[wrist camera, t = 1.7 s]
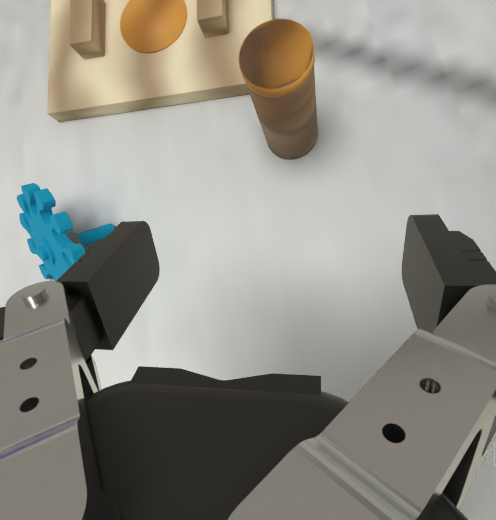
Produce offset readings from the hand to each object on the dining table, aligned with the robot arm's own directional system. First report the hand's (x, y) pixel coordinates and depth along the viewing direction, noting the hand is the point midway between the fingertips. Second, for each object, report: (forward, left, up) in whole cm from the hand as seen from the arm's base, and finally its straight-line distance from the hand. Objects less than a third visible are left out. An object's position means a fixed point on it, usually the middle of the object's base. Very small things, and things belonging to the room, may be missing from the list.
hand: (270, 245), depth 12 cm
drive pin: (0, -12, -17) cm, 21 cm away
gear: (+18, -3, -18) cm, 25 cm away
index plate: (+11, -23, -17) cm, 31 cm away
